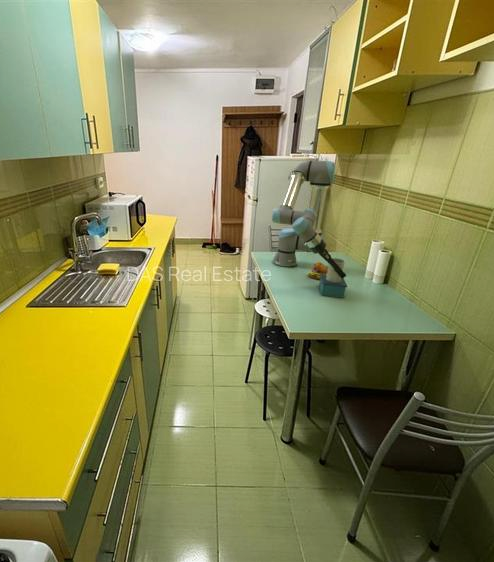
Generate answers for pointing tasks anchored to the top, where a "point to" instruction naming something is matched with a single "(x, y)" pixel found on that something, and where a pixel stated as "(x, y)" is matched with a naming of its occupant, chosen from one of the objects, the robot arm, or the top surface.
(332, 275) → the cup
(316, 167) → the robot arm
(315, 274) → the cheeseburger
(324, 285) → the container
